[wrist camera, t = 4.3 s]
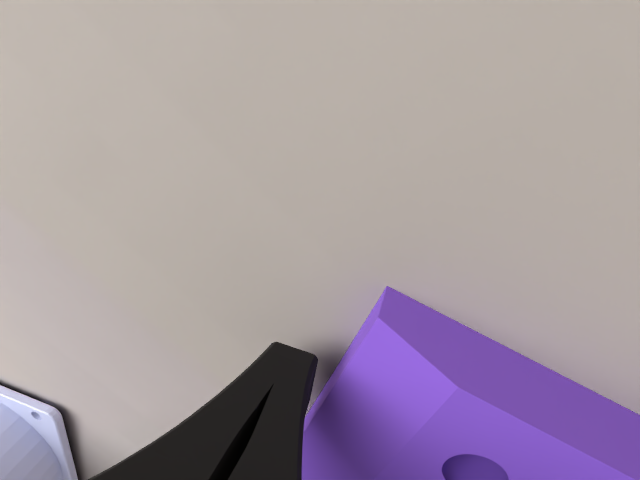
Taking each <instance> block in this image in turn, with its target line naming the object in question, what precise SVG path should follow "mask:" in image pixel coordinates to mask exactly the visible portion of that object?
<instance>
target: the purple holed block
mask: <svg viewBox="0 0 640 480" xmlns="http://www.w3.org/2000/svg"><path fill="white" fill-rule="evenodd" d="M302 480H640V415H638V414H636V413H635V412H633V411H631V410H629V409H627V408H625V407H623V406H621V405H619V404H617V403H615V402H613V401H611V400H609V399H607V398H605V397H603V396H601V395H599V394H597V393H595V392H593V391H592V390H590V389H588V388H586V387H584V386H582V385H580V384H578V383H576V382H574V381H572V380H570V379H568V378H566V377H564V376H562V375H560V374H558V373H556V372H554V371H552V370H550V369H549V368H547V367H545V366H543V365H541V364H539V363H537V362H535V361H533V360H531V359H529V358H527V357H525V356H523V355H521V354H519V353H517V352H515V351H513V350H511V349H509V348H507V347H505V346H504V345H502V344H500V343H498V342H496V341H494V340H492V339H490V338H488V337H486V336H484V335H482V334H480V333H478V332H476V331H474V330H472V329H470V328H468V327H466V326H464V325H462V324H461V323H459V322H457V321H455V320H453V319H451V318H449V317H447V316H445V315H443V314H441V313H439V312H437V311H435V310H433V309H431V308H429V307H427V306H425V305H423V304H421V303H419V302H418V301H416V300H414V299H412V298H410V297H408V296H406V295H404V294H402V293H400V292H398V291H396V290H394V289H392V288H390V287H388V286H387V287H386V289H385V290H384V292H383V293H382V295H381V297H380V298H379V300H378V301H377V303H376V305H375V306H374V308H373V310H372V311H371V313H370V314H369V316H368V318H367V319H366V321H365V322H364V324H363V326H362V327H361V329H360V330H359V332H358V334H357V335H356V337H355V338H354V340H353V342H352V343H351V345H350V346H349V348H348V350H347V351H346V353H345V354H344V356H343V358H342V359H341V361H340V362H339V364H338V366H337V367H336V369H335V370H334V372H333V374H332V375H331V377H330V378H329V380H328V382H327V383H326V385H325V386H324V388H323V390H322V391H321V393H320V395H319V396H318V398H317V399H316V401H315V403H314V404H313V406H312V407H311V409H310V411H309V412H308V414H307V415H306V417H305V420H304V430H303V446H302Z"/></svg>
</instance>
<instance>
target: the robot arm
mask: <svg viewBox="0 0 640 480" xmlns="http://www.w3.org/2000/svg"><path fill="white" fill-rule="evenodd" d="M317 362H318V359H317V357H316V356H315V355H314V354H311V353H308V352H305V351H302V350H299V349H296V348H293V347H290V346H287V345H285V344H282V343H279V342H274V343H272V344H271V345H270V346H269V347H268V348H267V349H266V350H265V351H264V352H263V353H262V354H261V355H260V356H259V357H258V358H257V359H256V360H255V361H254V362H253V363H252V364H251V365H250V366H249V367H248V368H247V369H246V370H245V371H244V372H243V373H242V374H241V375H240V376H238V377H237V378H236V379H235V380H234V381H233V382H231V383H230V384H229V385H228V386H227V387H226V388H225V389H223V390H222V391H221V392H220V393H219V394H218V395H216V396H215V397H214V398H213V399H211V400H210V401H209V402H208V403H206V404H205V405H204V406H202V407H201V408H200V409H199V410H197V411H196V412H195V413H193V414H192V415H191V416H190V417H188V418H187V419H185V420H184V421H183V422H181V423H180V424H179V425H177V426H176V427H174V428H173V429H171V430H170V431H169V432H167V433H166V434H164V435H163V436H161V437H160V438H158V439H157V440H155V441H154V442H152V443H151V444H149V445H147V446H146V447H144V448H142V449H141V450H139V451H138V452H136V453H134V454H133V455H131V456H129V457H128V458H126V459H125V460H123V461H121V462H119V463H118V464H116V465H114V466H112V467H111V468H109V469H107V470H105V471H103V472H102V473H100V474H98V475H96V476H94V477H92V478H90V479H88V480H302V446H303V430H304V420H305V414H306V411H307V408H308V404H309V400H310V396H311V391H312V386H313V381H314V377H315V372H316V367H317ZM0 480H78V477H77V473H76V469H75V465H74V461H73V457H72V453H71V449H70V445H69V441H68V438H67V434H66V430H65V426H64V422H63V418H62V415H61V413H60V412H59V411H58V410H57V409H56V408H54V407H52V406H50V405H48V404H45V403H43V402H41V401H38V400H36V399H33V398H31V397H28V396H26V395H23V394H21V393H19V392H16V391H14V390H11V389H9V388H6V387H4V386H1V385H0Z"/></svg>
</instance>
